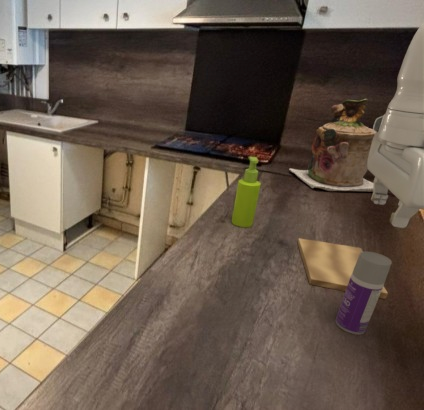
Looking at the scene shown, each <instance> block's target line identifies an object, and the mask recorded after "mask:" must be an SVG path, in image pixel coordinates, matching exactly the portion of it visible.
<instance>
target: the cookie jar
mask: <svg viewBox="0 0 424 410" xmlns="http://www.w3.org/2000/svg"><path fill="white" fill-rule="evenodd" d="M368 101H369V99H368V98H364V99H361V100H355V99H346V100H343V101H342V102H341V103H340V104H334V105H332V106H331V108H330V115H332V116H333V118H332V119H330V122H328V123H325V124H323V126H320V127H318V129H316V136H315V138H314V139H313V142H312V145H311V149H312V150H311V158H310V161H309V163H308V165H307V169H296V168H289V169H288V170H289V172H290V173H293V174H295V176H296V177H297V178H298V179H300V180H301V181H302V182H303V183H305V184H306V185H308V186H309V187H310V188H311V189H314V188H316V189H321V190H325V191H327V192H368V193H373V186H374V182H373V181H370V180H367V179H365V178H364V176H365V175H366V173H367V172H368V171H369V170H368V168H367V160H368V156H369V151H370V147H371V144H372V140H373V137H374V135H375V133H376V132H375V131H374V130H373V128H369V126H366V125H364V123H363V122H361V121H360V119H361V117H362V116H363V115H364V114H365V111H364V110H365V109H366V106H367V105H368Z"/></svg>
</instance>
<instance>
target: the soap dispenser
mask: <svg viewBox="0 0 424 410" xmlns="http://www.w3.org/2000/svg"><path fill="white" fill-rule="evenodd" d="M247 157H248V159H249V166H248V168H246V169H245V171H244V176H243V178H241V179H238V181H237V182H238V183H237V188H236V193H235V199H234V205H233V210H232V217H231V222H230V223H231V224H233V225H234V226H236V227H240V228H251V227H252V226H253V224H254V219H255V214H256V209H257V204H258V201H259V200H258V199H259V196H260V191H261V185H262V183H261V181H258V176H259V170H258V169H257V164H259V159H258V157H257V156H247Z"/></svg>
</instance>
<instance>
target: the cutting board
mask: <svg viewBox="0 0 424 410" xmlns="http://www.w3.org/2000/svg"><path fill="white" fill-rule="evenodd" d="M297 240H298V241H297V246H298V249H299V253H300V257H301V261H302V263H303V267H304V270H305V273H306V278H307V280H308V284H309V285H312V286H318V287H322V288H327V289H332V290H337V291H342V292H346V289H347V286H348V283H349V280H350V277H351V275H352V272H353V270H354V267H355V265H356V262H357V260H358V257H359V255H360V253H361V252H364V251H363V249H362V248H361V247H357V246H352V245H346V244H338V243H332V242H325V241H320V240H313V239H306V238H300V237H298V239H297ZM388 295H389V292H388V291H387V289H386V287H385V285H384V286H383V288H382V291H381V293H380V296H379V298H378V299H382V300H386V299H387V297H388Z"/></svg>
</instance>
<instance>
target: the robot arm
mask: <svg viewBox="0 0 424 410" xmlns="http://www.w3.org/2000/svg"><path fill="white" fill-rule="evenodd" d="M396 78H397V79H396V80H397V81H396V83H397V85H396V86H397V87H396V90H395V93H394V96H393V98H392V99H391V101H389V103H388V105H387V108H386V111H385V113H384V114H383V115H381V116H379V117H377V118H376V119H375V121H374V123H373V126H372V129H373V130H374V131H375V132H376V133H375V135H374V137H373V140H372V144H371V147H370V151H369V156H368V160H367V168H368V170H367V171H369V172H370V173H371V174H372V175H373V176H374V179H373V183H374V186H373V192H372V195H371V198H370V200H371V202H372V203H373V204H375V205H380V206H384V205H386V204H387V200H388V198H389V195H388V193H389V191H390V192H391V193H392V194H393V195H394V197H396V198H397V199H398V203H397V205H398V207H397V209H396V210H395V212H392V213H391V214H390V218H389V223H390V224H391V225H392V226H393V227H394V228H399V229H404V228H405V229H406V227H408V225H409V222H410V219H411V218H413V217H414V216H415V215H416V214H417V213H418V212H419V211H420V210H423V211H424V22H422V24H421V25H420V26H419V27H418V28H417V31H416V32H415V33H414V35H413V37H412V39H411V40H410V44H409V45H408V48H407V50H406V53H405V54H404V58H403V60H402V63H401V66H400V69H399V71H398V75H397V77H396Z"/></svg>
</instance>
